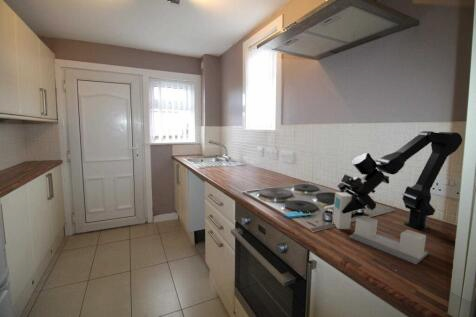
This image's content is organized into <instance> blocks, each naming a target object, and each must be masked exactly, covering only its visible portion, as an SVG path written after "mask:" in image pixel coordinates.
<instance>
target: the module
mask: <svg viewBox="0 0 476 317" xmlns="http://www.w3.org/2000/svg"><path fill="white" fill-rule="evenodd" d="M351 199H352V195H350V194H348V193H344V192H341V191H339V192H337V191H335V192H334V203H333V205H334V213H332V223H333V222H334V224H335V225H336V226H335V225H334V226H335V227H336V228H337V229H338V230H351V224H352V223H351V221H352V215H351V213H352V212H348V213H345V214H343V213H342V210H343V209H344V208H345V207H346V206H347V205H348V204H349V203H350V201H351Z"/></svg>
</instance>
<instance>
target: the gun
mask: <svg viewBox="0 0 476 317" xmlns="http://www.w3.org/2000/svg"><path fill="white" fill-rule="evenodd" d="M323 210H324V211H328V212H329V211H333V210H334V204H331V205H326V206H324V207H323ZM363 210H364V212H365V213H367V212H368V208H366V209H363ZM324 211H323V212H324ZM355 211H357V210H355ZM355 211H353V212H355Z"/></svg>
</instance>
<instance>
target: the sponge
mask: <svg viewBox="0 0 476 317" xmlns="http://www.w3.org/2000/svg"><path fill="white" fill-rule="evenodd" d="M306 215H311V216H312V213H311V212H309V214H303V213H298V212H297V211H296V210H295V211H290V212H286V213H283V216H284V217H285V218H287V219H295V218H294V217H298V218H303V217H302V216H305V217H307V216H306Z"/></svg>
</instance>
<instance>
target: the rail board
mask: <svg viewBox="0 0 476 317" xmlns="http://www.w3.org/2000/svg"><path fill="white" fill-rule="evenodd" d="M377 229H378V219H375V218H373V217H370V216H366V215H362V216H359V217H357V218H355V228H354V232H353V233H352V234H350V235H349V238H350V239H352V240H355V241H358V242H360V243H363V244H365V245H367V246H369V247H372V248H375V249H376V250H379V251H382V252H385V253H387V254H390V255H391V256H394V257H397V258H398V259H402V260H404V261H406V262H409V263H412V264H415V265H417V264H418V263H420V262H421V261H422V260H423V259H424V258H426V257H427V255H428V254H429V251H426V250H425V246H426V240H427V235H426V234H423V233H419V232H418V231H417V232H416V231H413V230H410V229H406V230H404V231H402V232H400V237H399V238H400V239H399V240H396V239H393V238H390V237H388V236H385V235H382V234H379V233H377Z"/></svg>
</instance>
